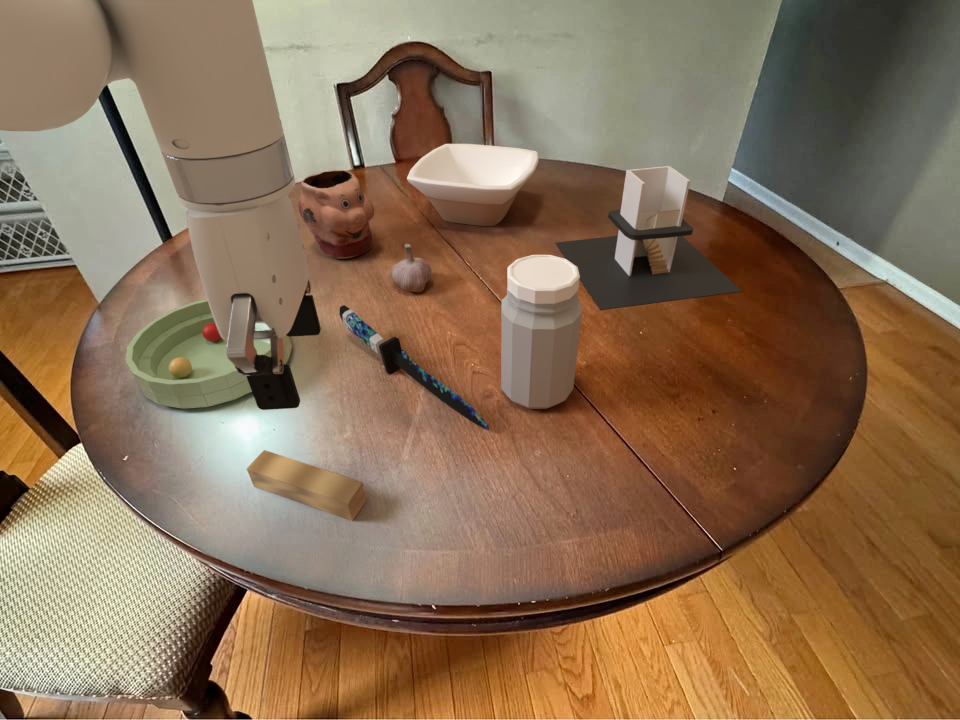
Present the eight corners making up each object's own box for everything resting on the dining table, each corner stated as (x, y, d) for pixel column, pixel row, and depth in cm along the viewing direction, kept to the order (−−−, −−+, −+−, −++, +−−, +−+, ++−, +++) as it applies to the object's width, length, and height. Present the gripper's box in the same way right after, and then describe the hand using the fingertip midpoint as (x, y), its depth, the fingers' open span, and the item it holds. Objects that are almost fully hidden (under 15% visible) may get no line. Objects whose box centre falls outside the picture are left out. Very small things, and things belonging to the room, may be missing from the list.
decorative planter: (285, 242, 110) (267, 172, 102) (336, 222, 117) (323, 155, 109) (347, 274, 100) (332, 200, 91) (398, 250, 107) (389, 179, 98)
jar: (588, 389, 74) (604, 270, 63) (539, 425, 69) (547, 303, 58) (533, 356, 80) (539, 242, 69) (484, 388, 75) (482, 270, 64)
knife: (339, 329, 84) (335, 305, 81) (356, 321, 86) (353, 297, 83) (472, 454, 68) (474, 430, 65) (490, 441, 70) (492, 418, 67)
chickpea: (173, 384, 76) (165, 368, 74) (173, 372, 78) (165, 356, 76) (195, 378, 76) (188, 362, 75) (194, 366, 78) (187, 351, 77)
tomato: (206, 347, 82) (200, 332, 80) (205, 337, 84) (199, 322, 82) (226, 342, 83) (220, 327, 81) (225, 332, 85) (219, 317, 83)
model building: (600, 309, 89) (613, 213, 79) (554, 242, 108) (560, 157, 98) (742, 291, 93) (772, 196, 82) (674, 229, 111) (692, 145, 101)
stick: (253, 486, 63) (246, 468, 61) (270, 467, 65) (263, 449, 63) (352, 521, 59) (347, 503, 57) (367, 499, 61) (363, 481, 59)
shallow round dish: (137, 431, 70) (120, 401, 67) (144, 342, 85) (130, 315, 82) (303, 386, 76) (294, 357, 73) (282, 310, 91) (274, 284, 88)
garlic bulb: (425, 298, 93) (421, 255, 88) (384, 294, 94) (377, 252, 89) (437, 276, 99) (434, 234, 94) (398, 272, 100) (393, 231, 95)
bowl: (517, 244, 108) (519, 191, 101) (401, 229, 114) (395, 178, 107) (544, 197, 125) (547, 149, 119) (442, 187, 131) (439, 141, 125)
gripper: (216, 132, 44) (272, 313, 54) (116, 228, 30) (217, 444, 41) (312, 128, 44) (349, 309, 54) (256, 221, 30) (320, 438, 41)
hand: (292, 367), depth 48 cm, fingers open, 9 cm apart
